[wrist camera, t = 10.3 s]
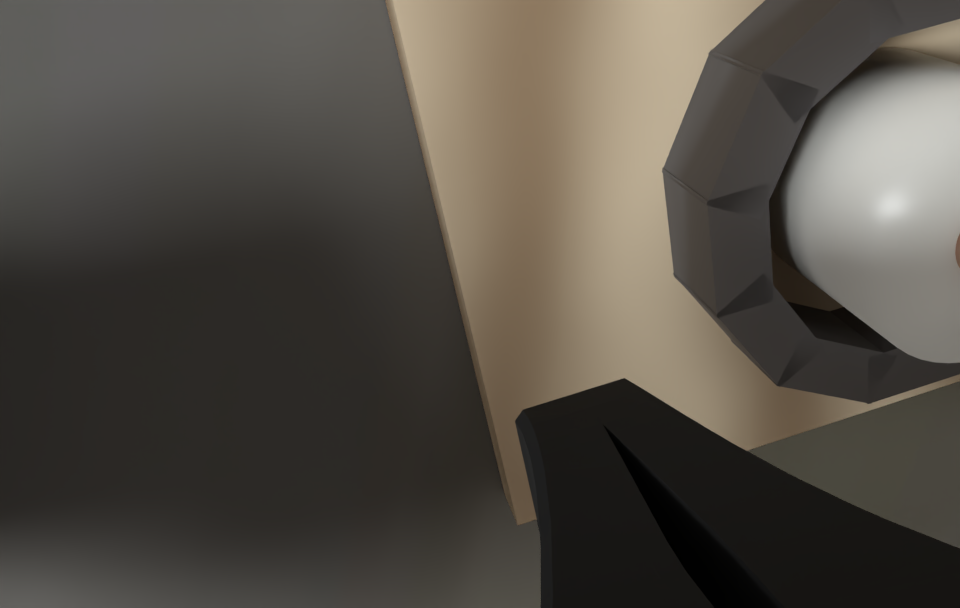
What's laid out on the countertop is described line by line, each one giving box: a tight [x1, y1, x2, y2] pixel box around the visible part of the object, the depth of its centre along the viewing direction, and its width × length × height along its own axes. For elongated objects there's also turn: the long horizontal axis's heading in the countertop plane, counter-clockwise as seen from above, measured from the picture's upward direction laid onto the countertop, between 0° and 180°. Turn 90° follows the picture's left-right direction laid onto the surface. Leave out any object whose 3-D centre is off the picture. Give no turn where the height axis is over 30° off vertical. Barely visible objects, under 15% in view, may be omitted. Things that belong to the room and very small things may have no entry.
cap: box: [769, 47, 960, 363], centre depth 17 cm, size 5×5×5 cm
